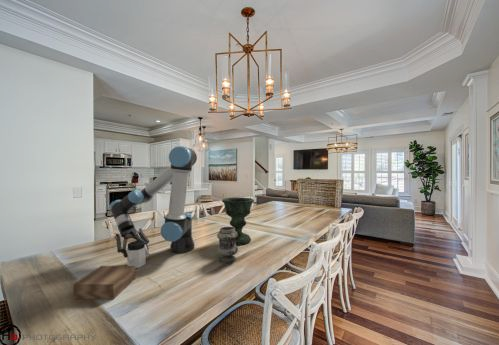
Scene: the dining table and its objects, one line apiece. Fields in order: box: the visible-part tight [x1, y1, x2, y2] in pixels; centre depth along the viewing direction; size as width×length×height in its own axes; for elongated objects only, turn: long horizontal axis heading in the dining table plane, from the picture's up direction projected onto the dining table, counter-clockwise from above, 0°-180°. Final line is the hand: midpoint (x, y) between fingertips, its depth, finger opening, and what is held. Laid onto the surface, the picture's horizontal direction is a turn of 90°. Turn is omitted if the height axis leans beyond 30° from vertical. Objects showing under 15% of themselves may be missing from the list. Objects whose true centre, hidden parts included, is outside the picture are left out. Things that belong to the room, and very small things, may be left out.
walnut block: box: [72, 265, 136, 300], centre depth 93 cm, size 16×16×6 cm
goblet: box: [221, 196, 255, 246], centre depth 153 cm, size 22×23×30 cm
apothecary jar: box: [216, 225, 239, 264], centre depth 122 cm, size 12×12×18 cm
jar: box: [126, 240, 147, 269], centre depth 115 cm, size 9×8×12 cm
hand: (139, 258), depth 113 cm, fingers open, 9 cm apart
